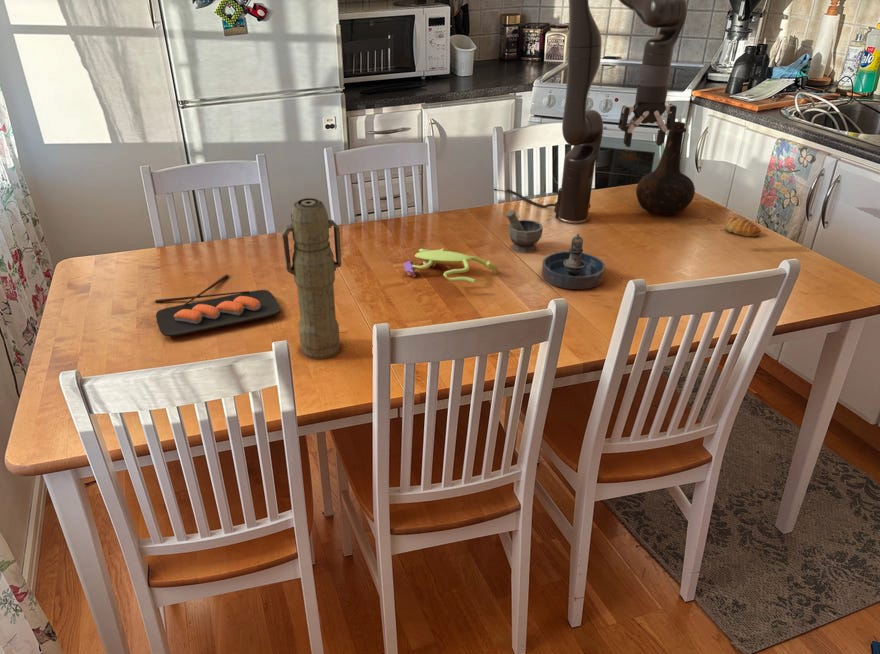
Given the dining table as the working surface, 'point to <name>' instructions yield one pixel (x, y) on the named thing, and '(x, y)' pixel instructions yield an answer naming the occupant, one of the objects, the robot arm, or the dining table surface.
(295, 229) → the thermos
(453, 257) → the figurine
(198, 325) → the sushi plate
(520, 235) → the mortar and pestle
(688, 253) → the dining table surface
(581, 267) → the salt shaker
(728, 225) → the pastry
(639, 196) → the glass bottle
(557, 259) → the bowl
